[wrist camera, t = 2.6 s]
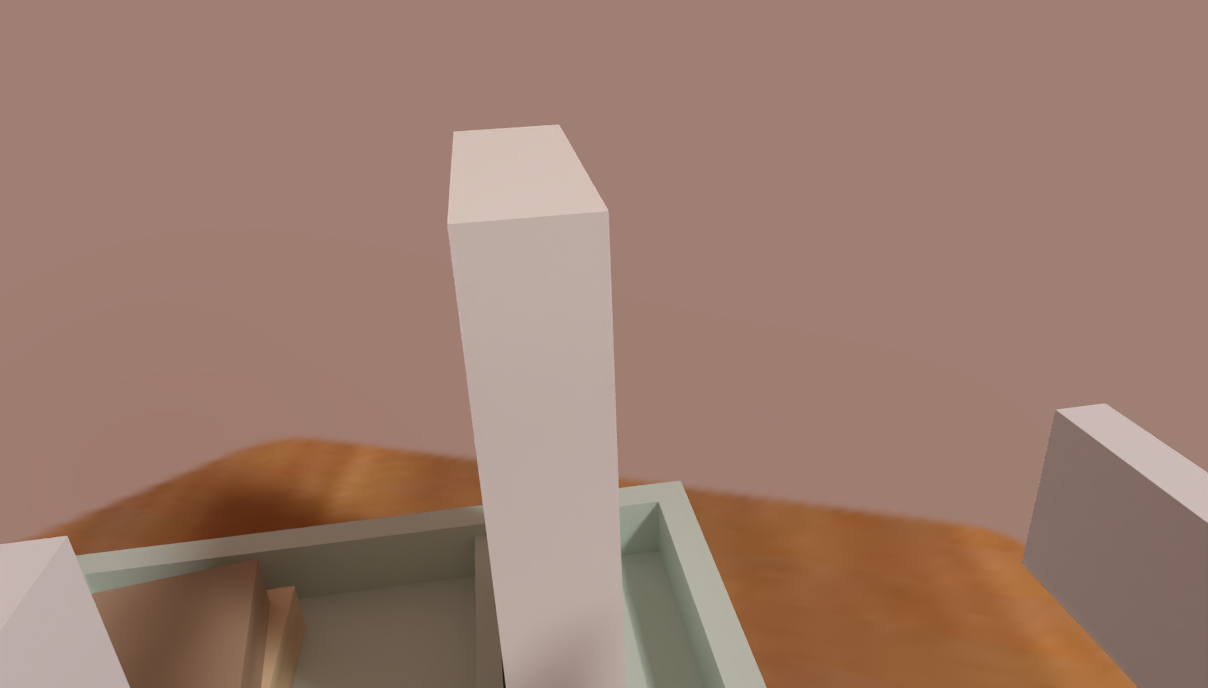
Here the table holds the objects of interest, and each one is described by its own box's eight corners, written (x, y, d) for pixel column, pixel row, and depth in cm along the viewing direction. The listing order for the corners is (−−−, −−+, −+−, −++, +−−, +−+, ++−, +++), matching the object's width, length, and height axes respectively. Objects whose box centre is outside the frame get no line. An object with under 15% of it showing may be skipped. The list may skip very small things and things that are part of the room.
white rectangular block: (525, 842, 23) (447, 224, 15) (509, 611, 31) (453, 131, 23) (630, 824, 23) (608, 211, 15) (587, 600, 31) (558, 124, 23)
